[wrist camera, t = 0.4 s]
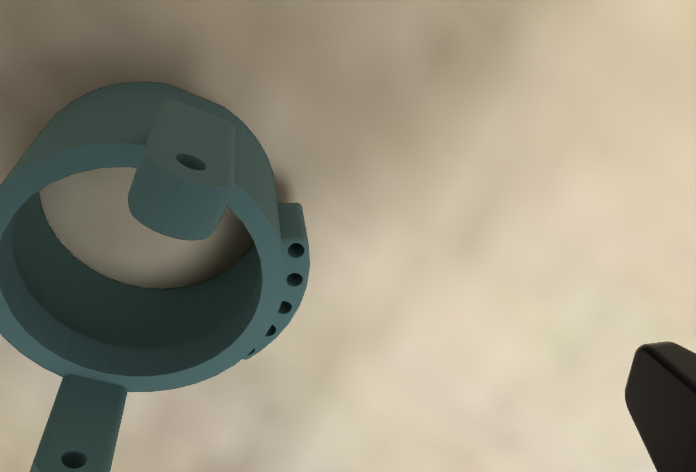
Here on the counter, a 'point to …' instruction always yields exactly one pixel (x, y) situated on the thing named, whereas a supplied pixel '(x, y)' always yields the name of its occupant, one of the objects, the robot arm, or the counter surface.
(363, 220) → the counter surface
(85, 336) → the bracket
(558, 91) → the counter surface
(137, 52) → the counter surface
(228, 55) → the counter surface
